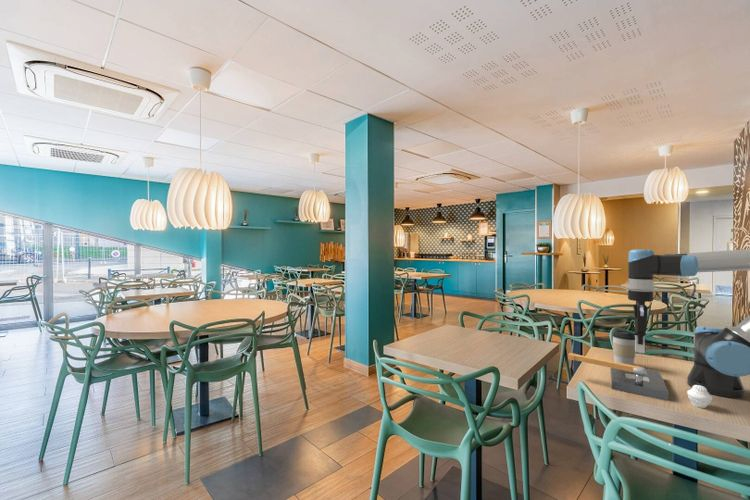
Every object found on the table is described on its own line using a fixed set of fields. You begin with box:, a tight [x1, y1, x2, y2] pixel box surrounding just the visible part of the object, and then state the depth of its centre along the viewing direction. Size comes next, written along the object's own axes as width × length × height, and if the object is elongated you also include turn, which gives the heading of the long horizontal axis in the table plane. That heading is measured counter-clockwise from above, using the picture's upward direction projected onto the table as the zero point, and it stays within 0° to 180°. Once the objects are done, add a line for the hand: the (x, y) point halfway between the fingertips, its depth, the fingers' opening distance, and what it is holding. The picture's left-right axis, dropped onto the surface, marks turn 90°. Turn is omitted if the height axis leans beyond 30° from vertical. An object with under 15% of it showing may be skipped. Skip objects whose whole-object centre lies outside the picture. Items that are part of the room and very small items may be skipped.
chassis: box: [610, 368, 670, 401], centre depth 131 cm, size 16×24×7 cm, turn 146°
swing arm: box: [567, 352, 647, 374], centre depth 130 cm, size 4×24×2 cm, turn 49°
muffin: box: [686, 385, 713, 409], centre depth 113 cm, size 6×6×7 cm
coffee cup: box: [611, 330, 636, 366], centre depth 152 cm, size 9×9×15 cm
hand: (639, 352), depth 129 cm, fingers closed
